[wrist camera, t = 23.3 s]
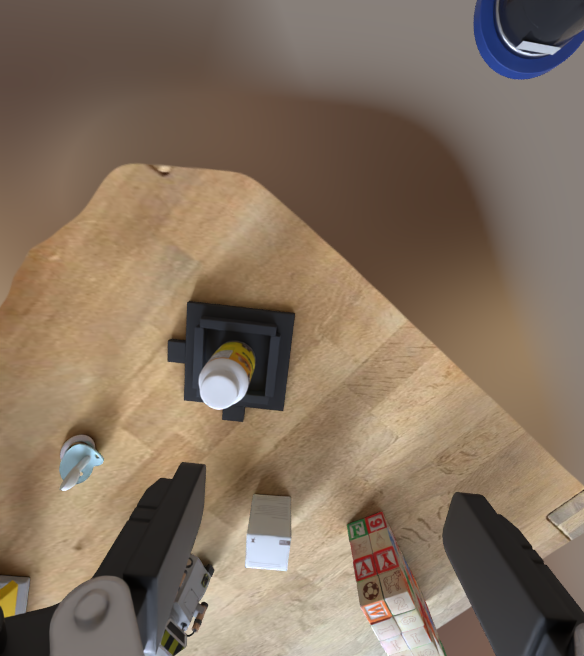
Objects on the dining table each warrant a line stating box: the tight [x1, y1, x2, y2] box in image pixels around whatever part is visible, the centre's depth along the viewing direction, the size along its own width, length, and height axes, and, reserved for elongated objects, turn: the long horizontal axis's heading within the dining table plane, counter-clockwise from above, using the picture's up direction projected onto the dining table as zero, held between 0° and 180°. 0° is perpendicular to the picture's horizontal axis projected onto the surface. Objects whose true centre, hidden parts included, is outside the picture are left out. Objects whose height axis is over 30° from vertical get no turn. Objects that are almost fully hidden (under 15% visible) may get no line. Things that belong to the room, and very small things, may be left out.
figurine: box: [145, 554, 214, 656], centre depth 46 cm, size 9×12×15 cm
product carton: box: [245, 494, 291, 571], centre depth 47 cm, size 6×6×7 cm
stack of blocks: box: [347, 512, 447, 656], centre depth 47 cm, size 21×6×12 cm, turn 25°
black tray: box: [168, 301, 295, 422], centre depth 43 cm, size 16×16×2 cm
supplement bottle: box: [199, 341, 256, 409], centre depth 38 cm, size 6×6×10 cm
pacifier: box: [59, 435, 104, 491], centre depth 45 cm, size 7×6×6 cm
